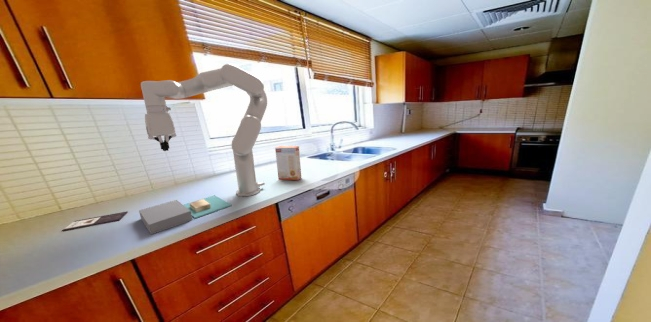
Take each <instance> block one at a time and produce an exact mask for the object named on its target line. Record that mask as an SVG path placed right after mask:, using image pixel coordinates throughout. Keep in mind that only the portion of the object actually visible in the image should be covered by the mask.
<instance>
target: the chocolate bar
mask: <svg viewBox="0 0 651 322" xmlns="http://www.w3.org/2000/svg"><path fill="white" fill-rule="evenodd" d="M128 213H129V212H128V210H127V211H122V212H115V213H111V214H106V215H101V216H94V217H88V218H84V219H78V220H74V221H73V222H71V223H70V224H69V225H68V226H65V228H63V229H62V230H61V232H62V231H63V232H67V231H73V230H79V229H83V228H87V227H93V226H99V225H103V224H109V223H114V222H120V221H121V220H122V219H123V218H124V217H125V216H126V215H127V214H128Z"/></svg>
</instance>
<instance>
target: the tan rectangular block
mask: <svg viewBox="0 0 651 322" xmlns="http://www.w3.org/2000/svg"><path fill="white" fill-rule="evenodd" d="M201 199H202V200H201ZM201 199H198V200H199V201H197V200H194V201H195V202H194V201H191V202H192V203H191V202H189V203H190V207H191V208H192V209H193V210H194V211H195V212H200V211H203V210H206V209H209V208H211V206H210V203H208V202H207V201H205V200H204V198H201Z"/></svg>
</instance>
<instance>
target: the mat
mask: <svg viewBox="0 0 651 322" xmlns="http://www.w3.org/2000/svg"><path fill="white" fill-rule="evenodd" d="M202 199H204V200H205V201H207V202H208V203H210V206H211V208H209V209H206V210H203V211H200V212H195V211H194V210H193V209H192V208H191V207H190V203H192V202H195V201H199V200H202ZM183 205H184V206H185V207H186V208H188V209H189V210H190V211H191V215H192V218H193V217H194V218H193V219H198V218H201V217H205V216H207V215H210V214H213V213H216V212H218V210H219V211H221V210H224V209H227V208H229V207H232V206H233V205H232V204H231V203H230V202H228V201H226V200H224V199H222V198H220V197H218V196H216V195H212V196H207V197H204V198H201V199H198V200H194V201H191V202H188V203H185V204H183ZM215 211H216V212H215Z"/></svg>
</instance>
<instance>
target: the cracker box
mask: <svg viewBox="0 0 651 322" xmlns="http://www.w3.org/2000/svg"><path fill="white" fill-rule="evenodd" d="M274 149H275V159H276V168H277V179H278V180H282V181H283V180H284V181H285V180H288V181H299V180H300V179H302V168H301V156H300V146H296V145H295V146H293V145H282V146H281V145H279V146H276V147H275V148H274Z"/></svg>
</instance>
